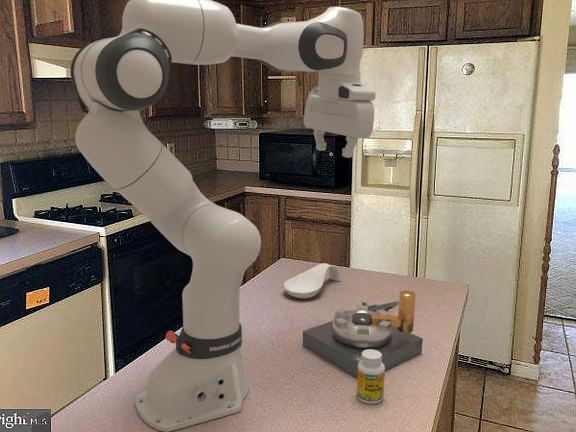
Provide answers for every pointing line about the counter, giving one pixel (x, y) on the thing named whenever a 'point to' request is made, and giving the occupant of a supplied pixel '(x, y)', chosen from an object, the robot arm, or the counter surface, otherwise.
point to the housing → (360, 348)
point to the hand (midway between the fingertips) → (333, 153)
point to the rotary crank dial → (373, 323)
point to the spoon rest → (311, 281)
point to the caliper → (380, 305)
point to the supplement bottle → (370, 377)
